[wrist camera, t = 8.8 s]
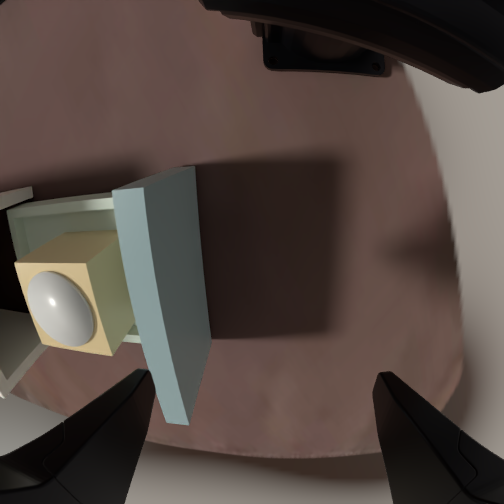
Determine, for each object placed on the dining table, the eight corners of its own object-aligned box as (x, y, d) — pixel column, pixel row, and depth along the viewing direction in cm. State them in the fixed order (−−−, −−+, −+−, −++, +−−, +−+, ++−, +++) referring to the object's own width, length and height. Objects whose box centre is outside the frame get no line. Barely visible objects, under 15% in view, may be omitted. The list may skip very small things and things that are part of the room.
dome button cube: (131, 229, 17) (83, 265, 12) (145, 306, 18) (110, 358, 13) (64, 232, 17) (11, 264, 12) (81, 302, 19) (40, 345, 14)
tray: (195, 165, 16) (143, 187, 9) (211, 342, 20) (189, 425, 13) (22, 188, 17) (-53, 216, 10) (57, 327, 21) (8, 382, 14)
